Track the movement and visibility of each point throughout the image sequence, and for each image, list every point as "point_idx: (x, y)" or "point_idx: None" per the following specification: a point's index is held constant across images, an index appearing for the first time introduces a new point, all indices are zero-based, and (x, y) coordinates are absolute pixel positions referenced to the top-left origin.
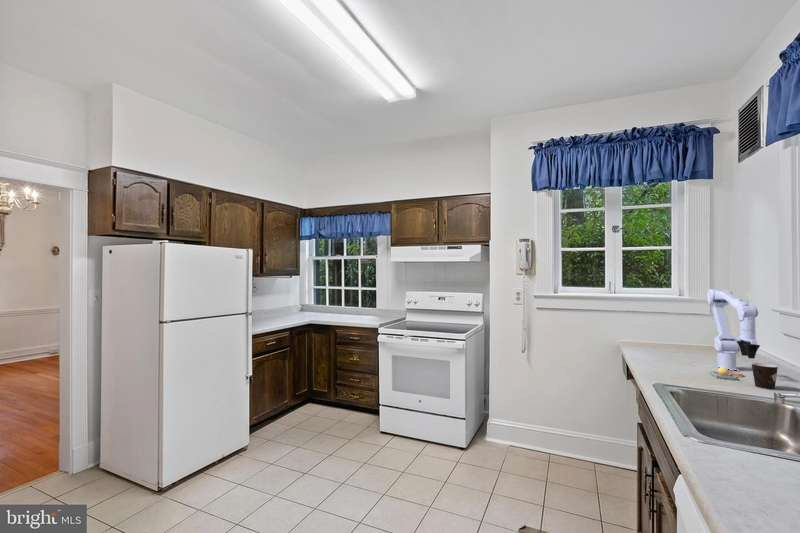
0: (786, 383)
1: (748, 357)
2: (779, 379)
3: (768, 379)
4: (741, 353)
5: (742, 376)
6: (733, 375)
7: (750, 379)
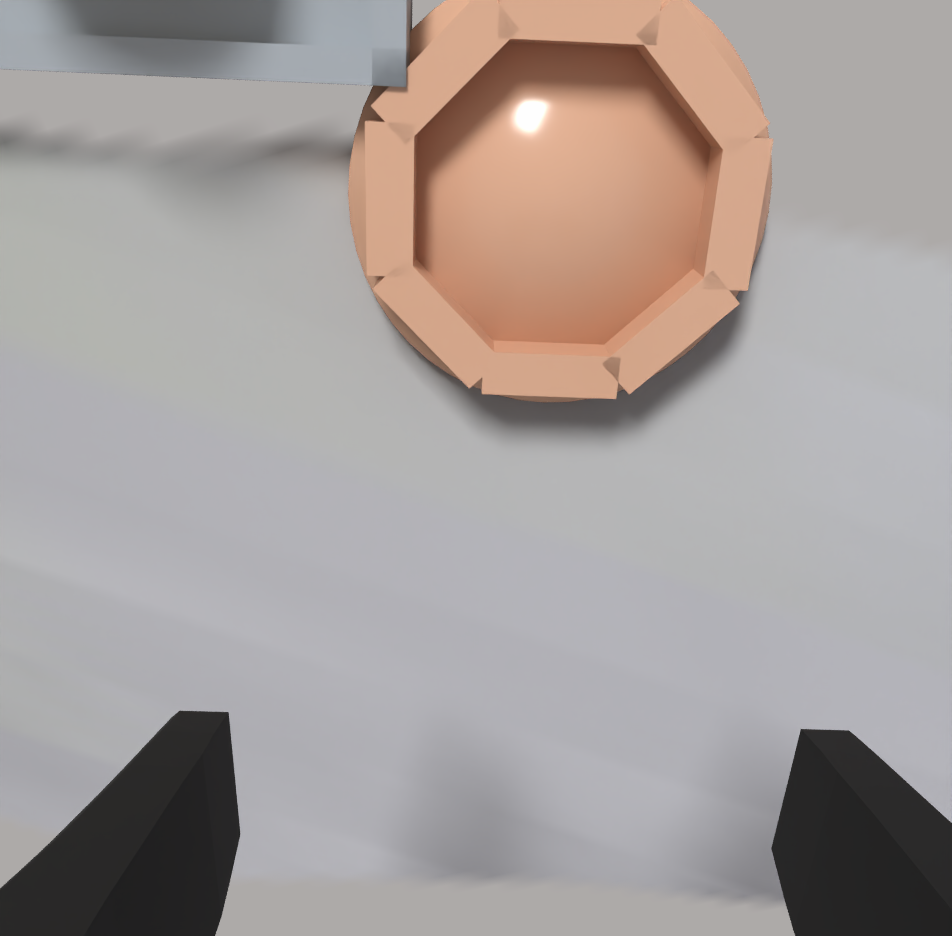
0: None
1: (201, 720)
2: (497, 847)
3: None
4: (869, 767)
5: (420, 347)
6: (44, 41)
7: (220, 403)
